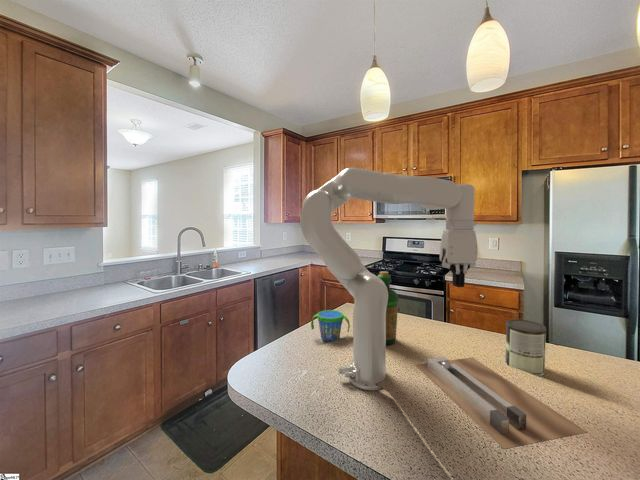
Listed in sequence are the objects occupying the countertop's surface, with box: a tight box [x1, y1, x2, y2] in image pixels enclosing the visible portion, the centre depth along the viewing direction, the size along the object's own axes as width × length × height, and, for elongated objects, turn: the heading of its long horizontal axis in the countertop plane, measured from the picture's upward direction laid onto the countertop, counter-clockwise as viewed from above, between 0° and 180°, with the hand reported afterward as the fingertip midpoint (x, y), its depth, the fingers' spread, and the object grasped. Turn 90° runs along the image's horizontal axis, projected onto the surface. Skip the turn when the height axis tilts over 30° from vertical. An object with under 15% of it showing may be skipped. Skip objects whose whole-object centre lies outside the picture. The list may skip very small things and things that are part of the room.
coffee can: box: [504, 318, 548, 377], centre depth 89 cm, size 10×10×14 cm
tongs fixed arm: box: [427, 356, 509, 434], centre depth 74 cm, size 28×6×3 cm, turn 11°
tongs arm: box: [441, 361, 526, 430], centre depth 73 cm, size 25×4×3 cm, turn 12°
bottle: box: [377, 270, 399, 347], centre depth 107 cm, size 11×11×28 cm
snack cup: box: [310, 309, 351, 342], centre depth 114 cm, size 16×10×10 cm
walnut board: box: [415, 357, 588, 450], centre depth 75 cm, size 21×34×2 cm, turn 11°
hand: (458, 286), depth 86 cm, fingers closed
